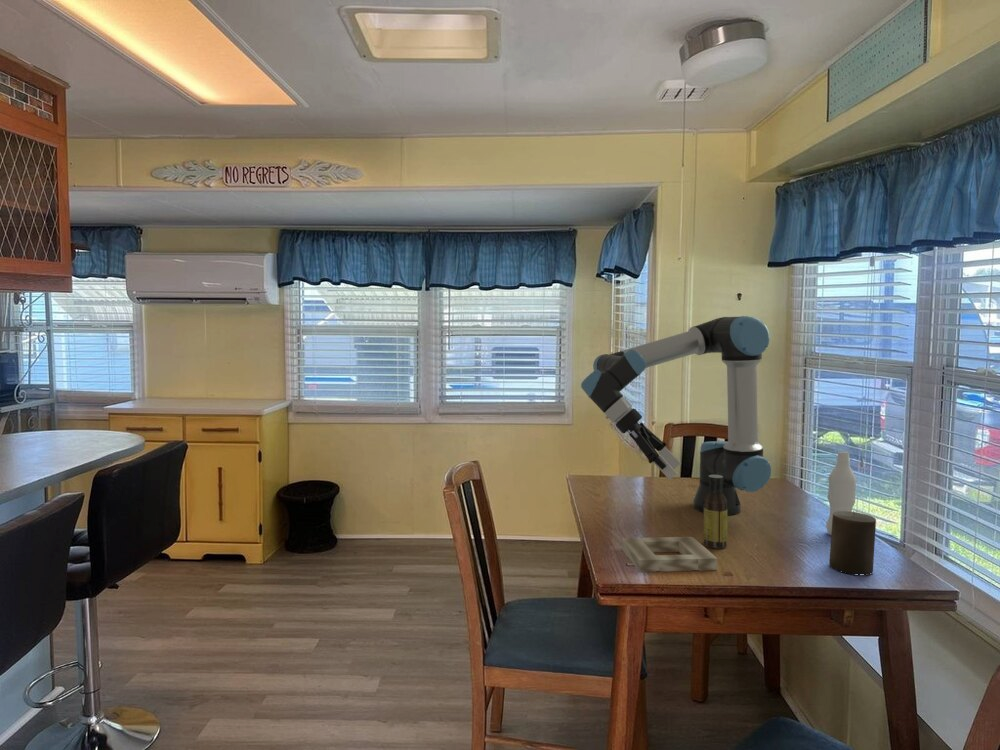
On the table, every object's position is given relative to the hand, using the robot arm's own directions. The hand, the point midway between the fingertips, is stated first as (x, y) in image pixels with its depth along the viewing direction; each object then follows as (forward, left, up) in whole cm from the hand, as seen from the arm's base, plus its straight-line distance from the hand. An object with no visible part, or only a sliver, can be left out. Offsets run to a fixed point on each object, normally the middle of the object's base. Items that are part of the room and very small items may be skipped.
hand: (675, 471), depth 173 cm
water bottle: (-51, -1, -20) cm, 55 cm away
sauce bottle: (-10, +5, -20) cm, 23 cm away
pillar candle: (-38, +23, -20) cm, 49 cm away
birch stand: (+7, +14, -20) cm, 25 cm away
